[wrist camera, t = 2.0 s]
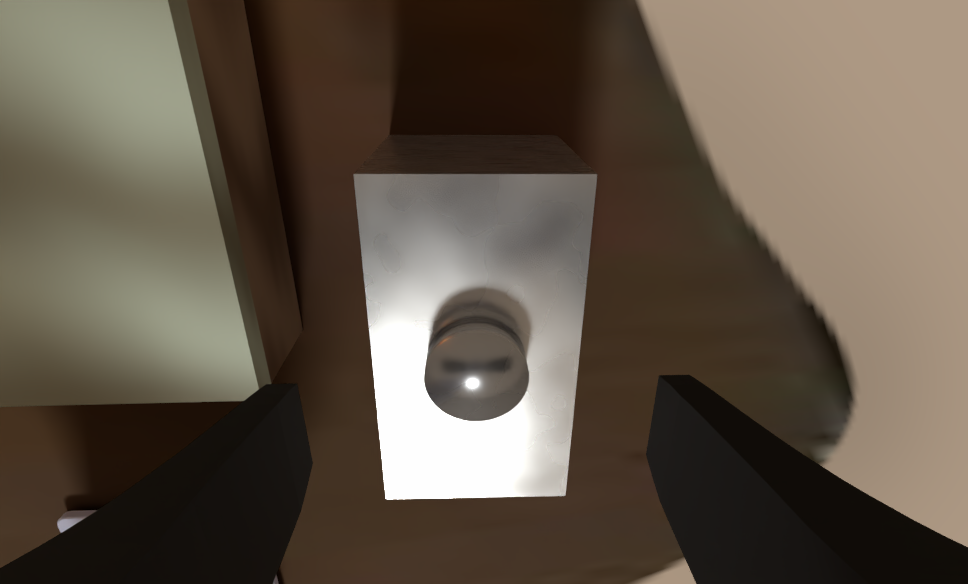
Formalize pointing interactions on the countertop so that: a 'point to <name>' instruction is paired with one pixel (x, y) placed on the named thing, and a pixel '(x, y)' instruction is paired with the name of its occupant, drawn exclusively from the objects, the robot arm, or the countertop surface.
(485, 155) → the housing
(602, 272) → the countertop surface
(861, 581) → the robot arm
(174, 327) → the stand
